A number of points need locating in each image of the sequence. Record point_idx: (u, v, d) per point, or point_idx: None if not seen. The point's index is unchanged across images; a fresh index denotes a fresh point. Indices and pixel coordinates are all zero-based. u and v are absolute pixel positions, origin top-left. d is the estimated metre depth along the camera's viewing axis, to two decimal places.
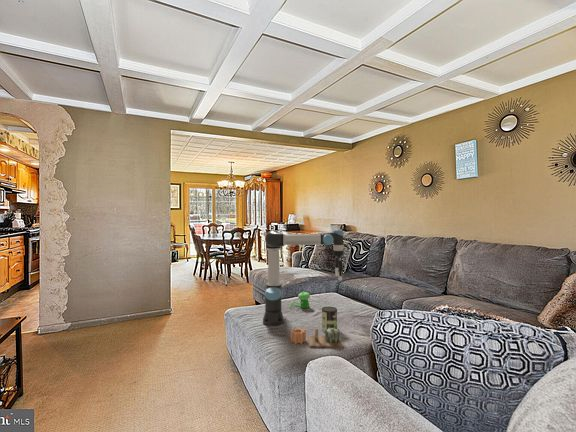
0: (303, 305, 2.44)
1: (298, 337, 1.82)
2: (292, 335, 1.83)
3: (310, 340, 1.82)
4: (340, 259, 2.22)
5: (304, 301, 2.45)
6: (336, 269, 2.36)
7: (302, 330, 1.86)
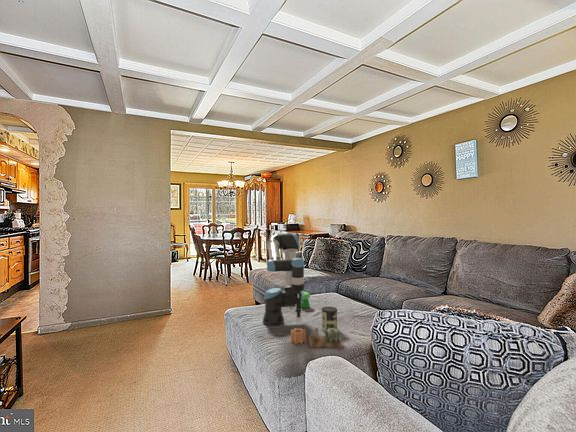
0: (304, 305, 2.45)
1: (298, 337, 1.82)
2: (292, 335, 1.83)
3: (310, 340, 1.82)
4: (298, 296, 1.78)
5: (305, 301, 2.45)
6: None
7: (302, 330, 1.86)
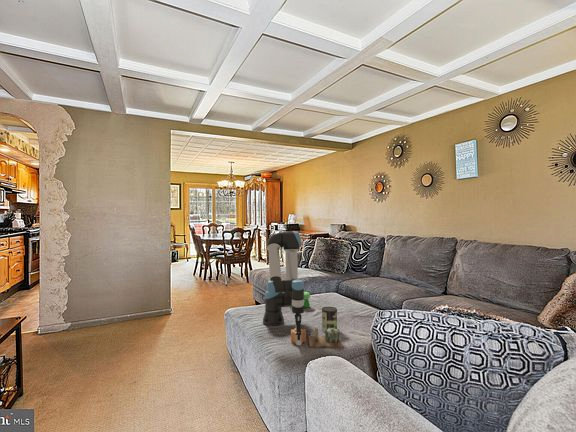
0: (304, 305, 2.46)
1: None
2: (292, 335, 1.83)
3: (310, 340, 1.82)
4: (298, 319, 1.78)
5: (305, 301, 2.46)
6: (296, 327, 1.92)
7: (302, 330, 1.86)
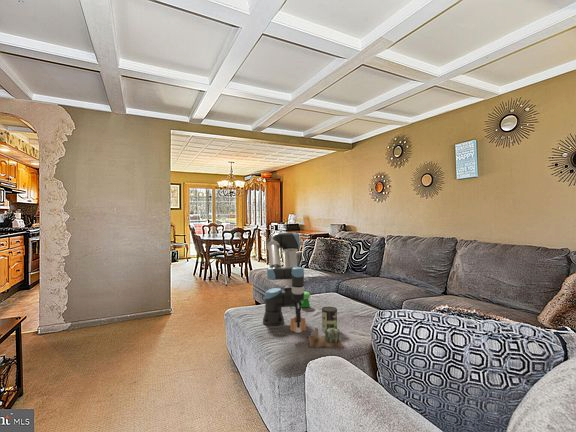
0: (304, 304, 2.46)
1: None
2: (292, 324, 1.84)
3: (310, 340, 1.82)
4: (298, 307, 1.78)
5: (305, 300, 2.46)
6: None
7: (302, 319, 1.86)
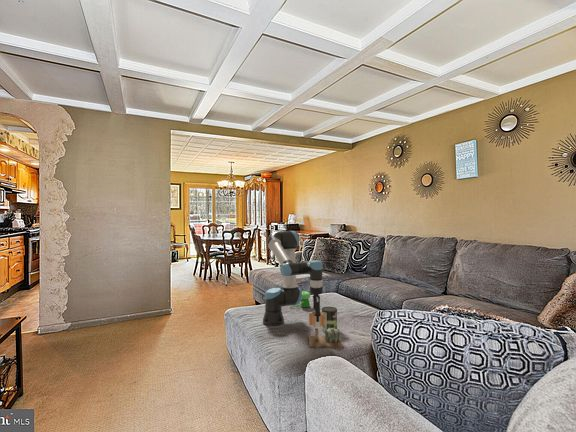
0: (304, 304, 2.46)
1: None
2: (311, 318, 1.80)
3: (310, 340, 1.82)
4: (318, 301, 1.75)
5: (305, 300, 2.47)
6: (315, 312, 1.86)
7: (320, 313, 1.82)
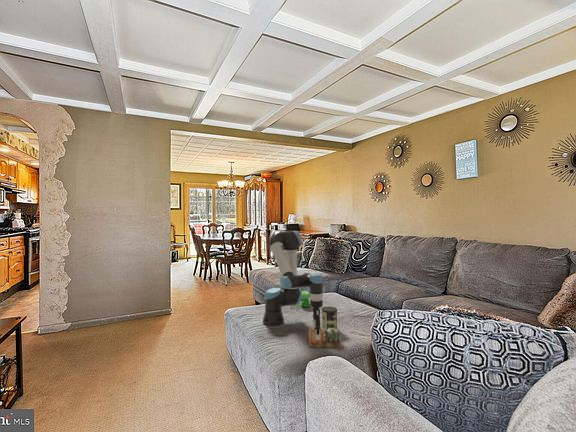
0: (304, 304, 2.47)
1: None
2: (310, 335, 1.80)
3: None
4: (318, 313, 1.75)
5: (305, 300, 2.47)
6: (314, 322, 1.89)
7: (320, 330, 1.83)
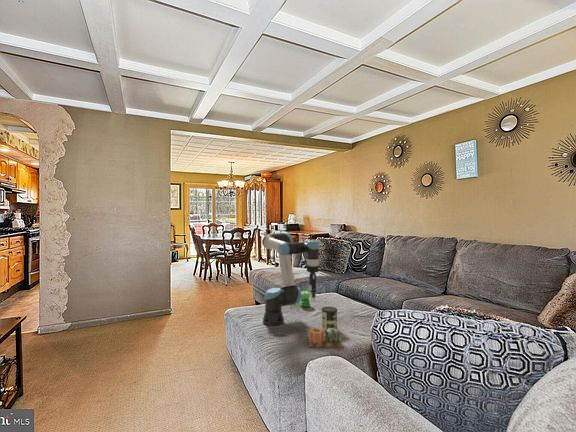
0: (305, 304, 2.48)
1: (317, 337, 1.79)
2: (310, 335, 1.80)
3: None
4: (314, 277, 1.83)
5: (306, 300, 2.48)
6: (311, 287, 1.97)
7: (320, 330, 1.83)
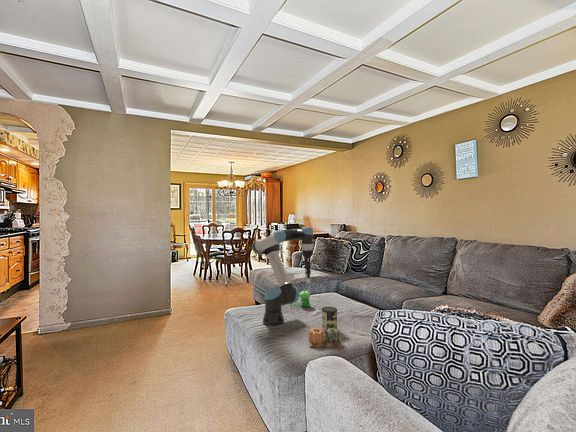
0: (305, 304, 2.48)
1: (317, 337, 1.79)
2: (310, 335, 1.80)
3: None
4: (308, 260, 1.99)
5: (306, 300, 2.48)
6: (306, 271, 2.12)
7: (320, 330, 1.83)
